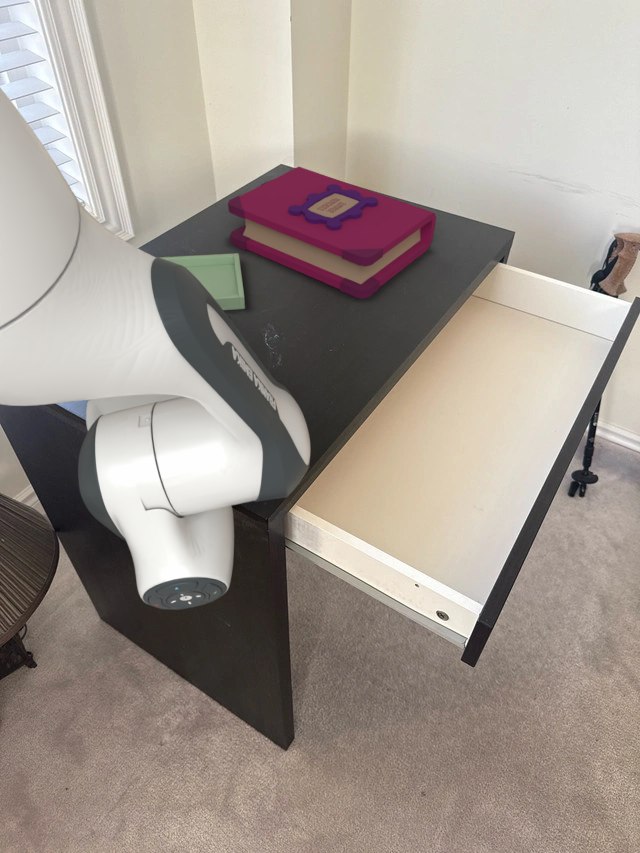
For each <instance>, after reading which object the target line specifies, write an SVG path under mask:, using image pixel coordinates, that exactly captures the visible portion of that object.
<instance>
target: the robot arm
mask: <svg viewBox="0 0 640 853" xmlns="http://www.w3.org/2000/svg"><path fill="white" fill-rule="evenodd" d="M79 401H87V402H86V407H85V424H86V425H85V426H86V430H87V432H86V435H85V437H84V438H83V441H82V444H81V447H80V450H79V453H78V454H79V455H78V463H77V477H78V489H79V493H80V497H81V499H82V501H83V503H84V505H85V507H86V509H87V510H88V512H89V513H90V514H91V515H92V516H93V518H94V519H95V520H97V521H98V522H99V523H100V524H102V525H103V526H104V527H106V528H107V529H108V530H109V531H111V533H113V534H114V535H116V536H117V537H119V538H120V539H121V540H123V541H125V542H126V544H127V546H128V549H129V551H130V552H129V553H130V555H131V557H132V562H133V567H134V574H135V580H136V581H135V582H136V587H137V588H136V589H137V592H138V595H139V597H140V599H141V600H142V601H143V603H144V604H146V605H148V606H151V607H154V608H156V609H159V610H175V611H178V610H180V611H181V610H185V609H191V608H196V607H199V606H204V605H206V604H210V603H213V602H215V601H216V600H218V599H220V598H221V597H223V596H224V595H225V594H227V592H228V590H229V588H230V586H231V582H232V575H233V568H234V555H235V554H234V553H235V522H234V511H233V506H236V505H237V506H238V505H240V504H246V503H250V502H254V503H259V502H265V501H272V500H279V499H285V498H288V497H289V496H290V495H291V494H292V493H293V491H294V490H295V489H296V488H297V487H298V486H299V484H300V483H301V481H302V480H303V478H304V477H305V475H306V474H307V473H308V471H309V469H310V466H311V439H310V438H311V437H310V433H309V429H308V428H309V427H308V425H307V421H306V418H305V417H304V413H303V412H302V409H301V407H300V405H299V404H298V402H297V401H296V400H295V398H294V397H293V395H292V393H291V392H290V390H289V389H288V388H287V387H286V386H285V385H283V384H282V383H281V382H280V381H278V380H276V378H275V377H273V375H272V374H271V372H270V371H269V370H268V369H267V368H266V366H265V365H264V363H263V362H262V361H261V359H260V358H259V357H258V355H257V354H256V352H255V351H254V350H253V348H252V347H251V345H250V344H249V343H248V342H247V340H246V338H245V337H244V336H243V334H242V333H241V332H240V331H239V329H238V328H237V326H236V325H235V323H234V322H233V321H232V320H231V319H230V317H229V316H228V314H227V313H226V312H225V310H223V309H222V308H221V307H220V305H219V304H218V303H217V302H216V300H215V299H214V298H213V297H212V295H211V294H210V293H209V292H208V291H207V289H206V288H205V287H204V286H203V285H202V284H201V283H200V281H199V280H198V279H197V278H196V277H195V276H194V275H193V274H192V273H191V272H190V271H189V270H188V269H187V268H185V267H184V266H182V265H179V264H176V263H173V262H170V261H168V260H165V259H162V258H159V257H156V256H154V255H151V254H150V253H148V252H145V251H144V250H142V249H140V248H138V247H137V246H135V245H133V244H131V243H129V242H128V241H126V240H125V239H123V238H121V237H120V236H118V235H117V234H116V233H114V232H113V231H111V230H110V229H108V228H107V227H106V226H105V225H103V224H102V223H101V222H100V221H98V220H97V219H96V218H95V217H94V216H93V215H92V214H91V213H90V212H89V211H88V209H86V208H85V207H84V206H83V205H82V203H81V202H80V201H79V200H78V198H77V196H76V194H75V193H74V192H73V190H72V188H71V186H70V185H69V183H68V181H67V179H66V178H65V176H64V174H63V173H62V172H61V170H60V168H59V167H58V165H57V164H56V162H55V160H54V159H53V157H52V156H51V154H50V153H49V151H48V150H47V149H46V147H45V146H44V144H43V143H42V141H41V139H39V137H38V136H37V134H36V133H35V131H34V130H33V128H32V127H31V126H30V124H29V123H28V121H27V120H26V119H25V118H24V116H23V115H22V113H21V112H20V111H19V109H18V108H17V107H16V106H15V104H14V103H13V102H12V101H11V100H10V98H9V96H8V94H6V93H5V91H4V90H3V89H2V87H0V405H1V406H2V405H3V406H10V407H11V406H12V407H14V406H15V407H31V406H46V405H54V404H55V405H56V404H64V403H73V402H79Z"/></svg>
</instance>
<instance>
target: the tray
mask: <svg viewBox="0 0 640 853" xmlns="http://www.w3.org/2000/svg"><path fill="white" fill-rule="evenodd" d="M158 258H162V259H165V260H168V261H170V262H173V263H176V264H179V265H182V266H184V267H185V268H187V269H188V270H189V271H190V272H191V273H192V274H193V275H194V276H195V277H196V278H197V279H198V280H199V281H200V283H201V284H202V285H203V286H204V287H205V288H206V289H207V291H208V292H209V293H210V294H211V295H212V297H213V298H214V299H215V300H216V302H217V303H218V304H219V305H220V307H221V308H222V309H223V311H233V310H245V309H246V304H245V302H246V301H245V292H244V285H243V284H244V283H243V276H242V269H241V261H240V260H241V259H240V254H239V253H237V252H236V253H217V254H200V255H180V256H164V257H163V256H161V257H160V256H159V257H158Z"/></svg>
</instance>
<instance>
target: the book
mask: <svg viewBox="0 0 640 853" xmlns="http://www.w3.org/2000/svg"><path fill="white" fill-rule="evenodd" d="M227 209H228V212H229V214H230V215H234V216H236V217H239V218H241V219H243V220H245V225H244V226H242V225H241V226H240V227H238V228H236V229H234V230H232V231H231V232H230V234H229V239H230V244H231V246H234V247H236V248H239V249H241V250H243V251H246V250H247V251H249V252H251V253H253V254H256V255H259V256H260V257H263V258H266V259H268V260H270V261H272V262H275V263H278V264H280V265H282V266H284V267H287V268H289V269H291V270H294V271H295V272H298V273H300V274H303V275H305V276H307V277H310V278H312V279H314V280H316V281H319V282H322V283H324V284H326V285H329V286H331V287H333V288H336V289H337V290H339V291H340V292H342V293H344V294H347V295H348V296H351V297H353V298H355V299H359V300H365V299H369V298H370V297H371V296H373V295H374V294H375V293H377V292H378V291H379V290H380V287H382V286H384V284H386V283H387V282H388V281H390V280H391V279H392V278H393V277H395V276H396V275H397V274H399V273H400V272H402V271H403V270H404V269H406V268H407V267H408V266H410V264H411V263H413V262H414V261H415V260H417V259H418V258H420V257H421V256H422V255H424V254H425V253H427V251H428V249H429V248H430V247H431V245H432V242H433V239H434V234H435V230H436V229H435V228H436V223H437V215H436V213H435V212H433V211H430V210H428V209H424V208H422V207H419V206H416V205H413V204H410V203H408V202H404V201H401V200H398V199H395V198H392V197H389V196H386V195H383V194H381V193H378V192H374V191H372V190H370V189H369V190H368V189H366V188H363V187H360V186H357V185H354V184H351V183H348V182H345V181H343V180H340V179H337V178H333V177H330V176H327V175H325V174H322V173H320V172H316V171H313V170H311V169H307V168H304V167H302V166H297V167H295V168H294V169H293V168H292V169H291V170H289V171H287V172H285V173H283V174H281V175H279V176H277V177H275V178H273V179H270V180H269V181H267V182H265V183H263V184H261V185H259V186H257V187H255V188H253V189H251V190H249V191H247V192H245V193H242V194H241V195H237V196H235V197H233V198H231V199H229V200H228V202H227Z"/></svg>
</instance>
